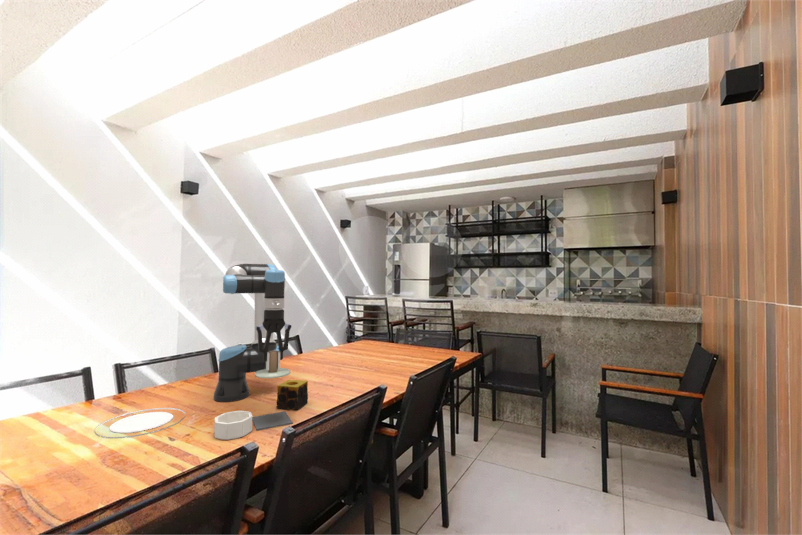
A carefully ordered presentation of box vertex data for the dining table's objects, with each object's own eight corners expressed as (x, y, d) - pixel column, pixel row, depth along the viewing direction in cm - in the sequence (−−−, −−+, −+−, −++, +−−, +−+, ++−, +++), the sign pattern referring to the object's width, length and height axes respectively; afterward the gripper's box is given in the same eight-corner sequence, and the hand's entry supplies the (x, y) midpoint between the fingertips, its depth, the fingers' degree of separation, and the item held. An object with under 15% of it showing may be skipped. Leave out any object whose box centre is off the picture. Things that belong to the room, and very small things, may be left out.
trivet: (251, 418, 140) (251, 417, 140) (285, 412, 147) (285, 411, 147) (256, 430, 129) (256, 429, 129) (292, 423, 136) (292, 422, 136)
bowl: (213, 429, 130) (214, 414, 130) (249, 423, 136) (249, 408, 136) (215, 442, 119) (215, 426, 119) (253, 435, 125) (253, 419, 125)
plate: (101, 446, 116) (101, 444, 116) (89, 423, 135) (89, 421, 135) (195, 422, 137) (195, 420, 137) (173, 404, 156) (173, 403, 156)
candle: (297, 411, 149) (297, 387, 149) (275, 409, 151) (276, 385, 151) (308, 403, 159) (308, 380, 159) (287, 401, 161) (288, 379, 161)
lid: (252, 372, 141) (253, 349, 141) (286, 368, 147) (286, 347, 148) (257, 380, 130) (258, 355, 130) (293, 375, 136) (294, 352, 136)
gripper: (253, 310, 132) (251, 373, 131) (297, 309, 140) (296, 368, 139) (250, 309, 139) (249, 369, 138) (293, 307, 147) (291, 364, 146)
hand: (272, 368), depth 139 cm, fingers closed on lid, 3 cm apart
